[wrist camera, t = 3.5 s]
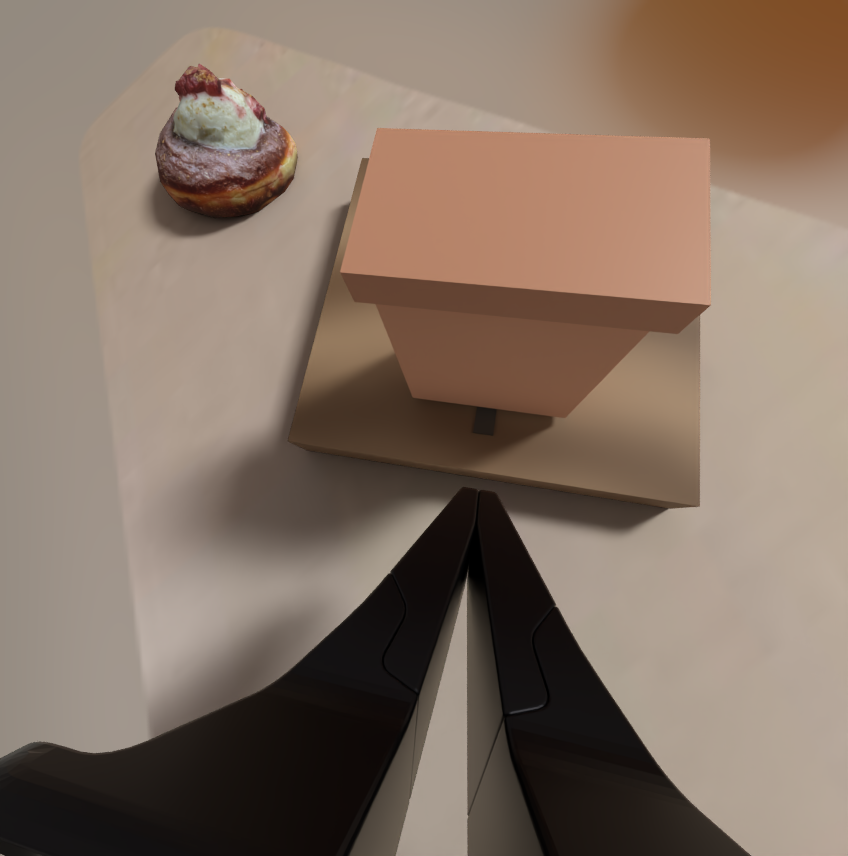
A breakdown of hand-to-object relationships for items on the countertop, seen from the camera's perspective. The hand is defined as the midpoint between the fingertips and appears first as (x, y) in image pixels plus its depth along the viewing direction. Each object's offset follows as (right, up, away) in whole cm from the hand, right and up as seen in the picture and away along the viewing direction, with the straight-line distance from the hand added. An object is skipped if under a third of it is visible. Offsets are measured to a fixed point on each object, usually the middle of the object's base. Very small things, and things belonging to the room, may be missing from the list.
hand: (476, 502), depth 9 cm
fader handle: (+1, +4, +6) cm, 8 cm away
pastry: (-13, +17, +14) cm, 25 cm away
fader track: (+2, +7, +9) cm, 11 cm away
